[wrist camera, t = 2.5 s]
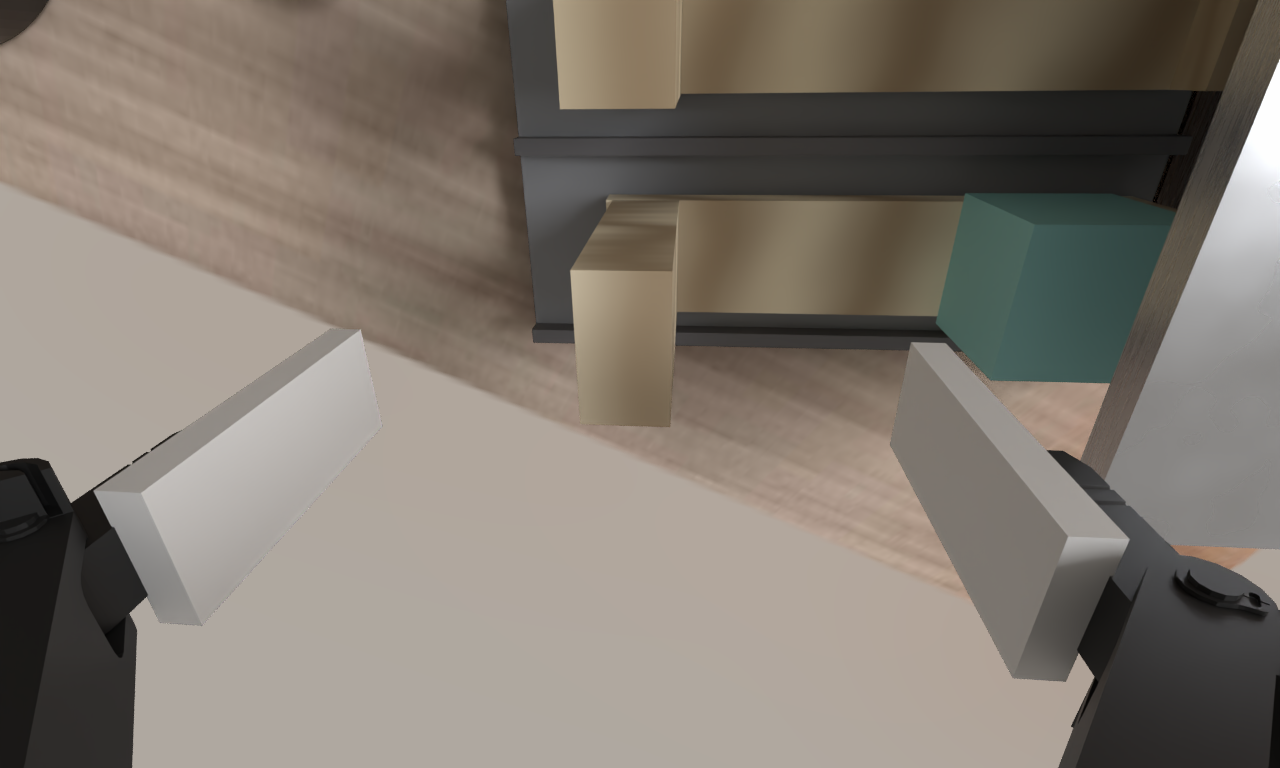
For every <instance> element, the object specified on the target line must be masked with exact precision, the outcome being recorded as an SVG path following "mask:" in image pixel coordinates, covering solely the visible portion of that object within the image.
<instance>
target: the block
mask: <svg viewBox="0 0 1280 768" xmlns="http://www.w3.org/2000/svg"><path fill="white" fill-rule="evenodd" d="M1175 215H1176V212H1173V211H1169V210H1166V209H1162V208H1159V207H1156V206H1152V205H1149V204H1145V203H1142V202H1139V201H1135V200H1132V199H1129V198H1125V197H1122V196H1118V195H1115V194H1087V193H965V197H964V201H963V205H962V210H961V214H960V219H959V223H958V227H957V232H956V236H955V241H954V245H953V249H952V254H951V258H950V263H949V267H948V271H947V276H946V280H945V285H944V289H943V293H942V298H941V302H940V306H939V311H938V315H937V320H936V324H937V325H938V326H939V327H940V328H941V329H942V330H943V331H944V332H945V334H946V335H947V336H948V337H949V338H950V339H951V340H952V341H953V342H954V343H955V344H956V345H957V346H958V347H959V348H960V349H961V350H962V351H963V352H964V353H965V354H966V355H967V356H968V357H969V358H970V359H971V361H972V362H973V363H974V364H975V365H976V366H977V367H978V368H979V369H980V370H981V371H982V372H983V373H984V374H985V375H986V376H987V377H988V378H989V379H990V380H997V381H1038V382H1080V383H1111V380H1112V377H1113V375H1114V372H1115V370H1116V367H1117V365H1118V362H1119V359H1120V357H1121V354H1122V352H1123V349H1124V346H1125V344H1126V341H1127V339H1128V336H1129V334H1130V331H1131V328H1132V326H1133V323H1134V321H1135V318H1136V315H1137V313H1138V310H1139V308H1140V305H1141V303H1142V300H1143V297H1144V295H1145V292H1146V290H1147V287H1148V284H1149V282H1150V279H1151V277H1152V274H1153V272H1154V269H1155V266H1156V264H1157V261H1158V259H1159V256H1160V253H1161V251H1162V248H1163V246H1164V243H1165V240H1166V238H1167V235H1168V233H1169V230H1170V228H1171V225H1172V222H1173V220H1174V217H1175Z"/></svg>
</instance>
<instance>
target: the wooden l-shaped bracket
mask: <svg viewBox="0 0 1280 768" xmlns="http://www.w3.org/2000/svg"><path fill="white" fill-rule="evenodd" d="M964 197H965V196H921V195H625V194H610V195H609V196H608V198H607V199H606V212H605V213H604V215H603V217H602V218H601V220H600V222H599V223H598V225H597V227H596V228H595V230H594V232H593V233H592V235H591V237H590V238H589V240H588V242H587V243H586V245H585V247H584V248H583V250H582V252H581V253H580V255H579V257H578V258H577V260H576V262H575V263H574V265H573V267H572V268H571V270H570V274H571V289H572V305H573V320H574V336H575V352H576V367H577V383H578V399H579V414H580V424H586V425H619V426H651V427H670V420H671V403H672V386H673V370H674V353H675V336H676V319H677V312H720V313H779V314H838V315H897V316H937V315H938V311H939V306H940V302H941V298H942V293H943V289H944V285H945V280H946V276H947V271H948V267H949V263H950V258H951V254H952V249H953V245H954V241H955V236H956V232H957V227H958V223H959V219H960V214H961V210H962V205H963V201H964ZM1122 197H1125V198H1129V199H1132V200H1135V201H1139V202H1142V203H1145V204H1149V205H1152V206H1156V207H1159V208H1162V209H1166V210H1169V211H1173V212H1177V209H1175V208H1171V207H1168V206H1164V205H1161V204H1157V203H1154V202H1150V201H1147V200H1143V199H1140V198H1136V197H1133V196H1122Z"/></svg>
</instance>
